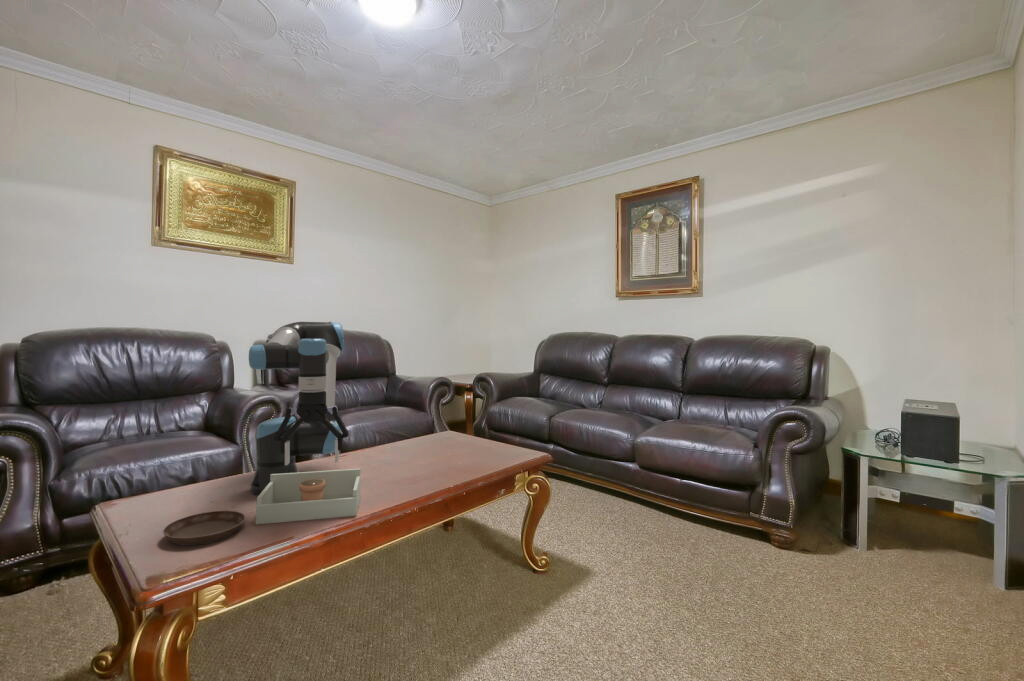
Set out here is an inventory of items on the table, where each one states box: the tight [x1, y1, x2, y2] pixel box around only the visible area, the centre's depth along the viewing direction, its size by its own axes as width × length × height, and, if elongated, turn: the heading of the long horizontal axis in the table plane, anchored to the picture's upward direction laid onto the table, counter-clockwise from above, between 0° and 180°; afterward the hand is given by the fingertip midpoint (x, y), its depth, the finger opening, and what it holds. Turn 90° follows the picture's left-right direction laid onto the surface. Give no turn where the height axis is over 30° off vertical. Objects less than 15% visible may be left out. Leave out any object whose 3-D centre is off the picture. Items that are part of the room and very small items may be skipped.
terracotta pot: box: [299, 479, 325, 501], centre depth 135 cm, size 7×7×8 cm
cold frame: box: [255, 468, 361, 525], centre depth 135 cm, size 16×26×9 cm, turn 105°
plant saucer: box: [162, 510, 246, 546], centre depth 119 cm, size 18×18×3 cm
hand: (312, 462), depth 135 cm, fingers open, 13 cm apart
